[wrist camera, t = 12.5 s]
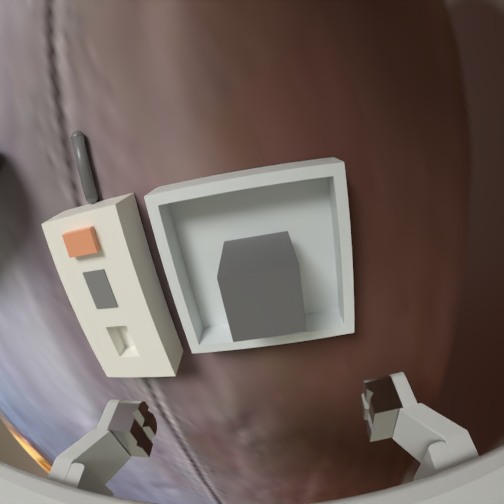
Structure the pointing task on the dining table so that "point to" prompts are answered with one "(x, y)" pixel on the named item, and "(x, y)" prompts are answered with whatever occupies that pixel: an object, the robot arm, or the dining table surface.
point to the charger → (261, 287)
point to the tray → (249, 225)
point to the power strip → (113, 281)
